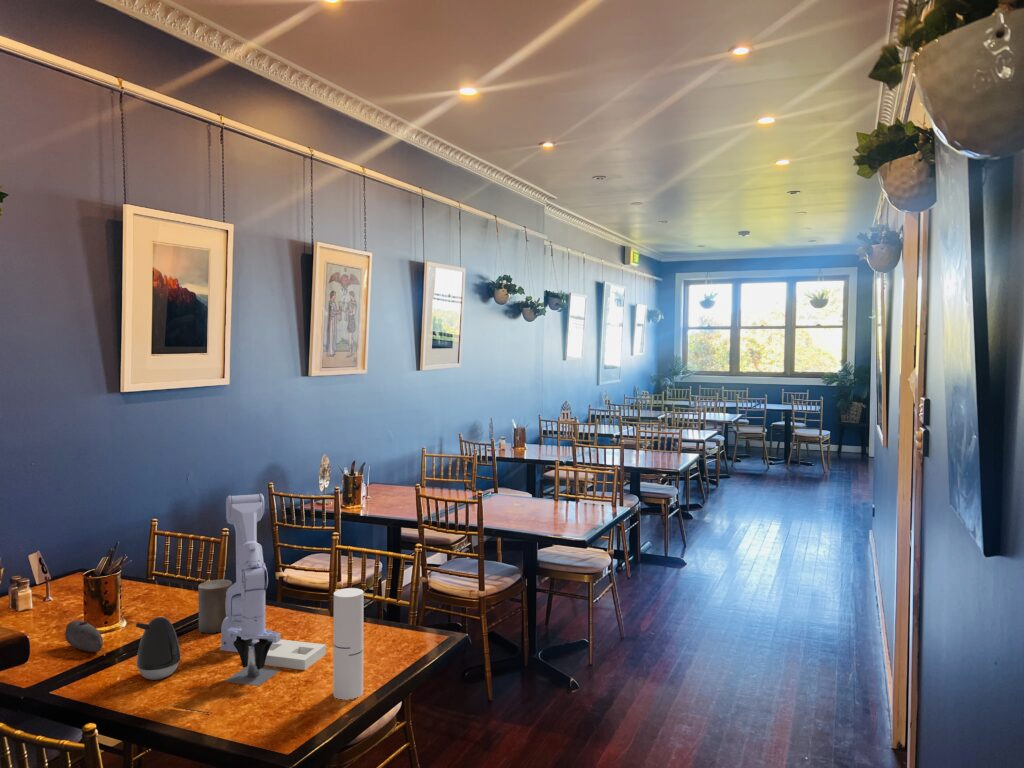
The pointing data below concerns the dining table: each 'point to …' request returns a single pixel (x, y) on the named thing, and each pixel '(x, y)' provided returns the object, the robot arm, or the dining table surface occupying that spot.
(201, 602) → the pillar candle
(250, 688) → the dining table surface
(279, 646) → the hole block
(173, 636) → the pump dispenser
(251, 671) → the peg
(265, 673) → the mat
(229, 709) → the dining table surface
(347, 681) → the cylindrical container
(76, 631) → the grey river pebble
